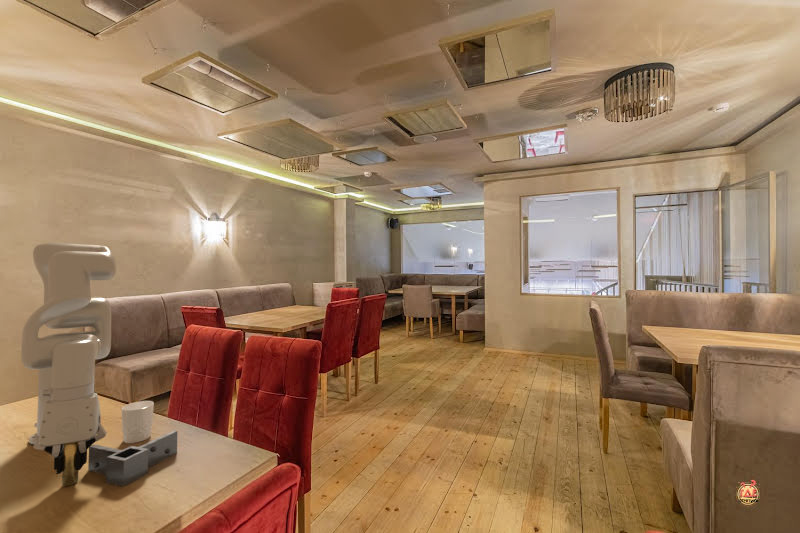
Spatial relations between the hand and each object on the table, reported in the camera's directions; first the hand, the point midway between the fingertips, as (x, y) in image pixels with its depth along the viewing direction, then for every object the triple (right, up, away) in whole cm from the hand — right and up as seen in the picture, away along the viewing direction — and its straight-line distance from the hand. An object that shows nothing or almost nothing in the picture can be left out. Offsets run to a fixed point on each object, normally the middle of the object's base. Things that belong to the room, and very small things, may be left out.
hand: (70, 468), depth 82 cm
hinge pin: (0, -3, 0) cm, 3 cm away
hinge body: (+8, -4, +9) cm, 13 cm away
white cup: (-2, -5, +23) cm, 24 cm away
